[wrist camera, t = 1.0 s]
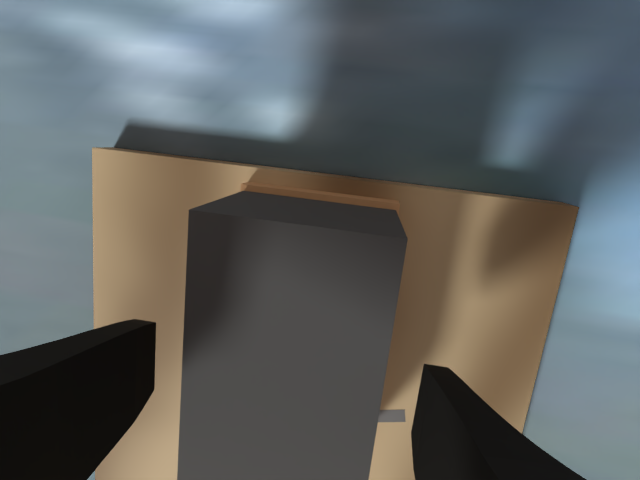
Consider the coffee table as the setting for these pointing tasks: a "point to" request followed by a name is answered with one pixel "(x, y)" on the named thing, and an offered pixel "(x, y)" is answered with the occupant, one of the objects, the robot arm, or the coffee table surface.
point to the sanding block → (287, 333)
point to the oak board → (412, 307)
